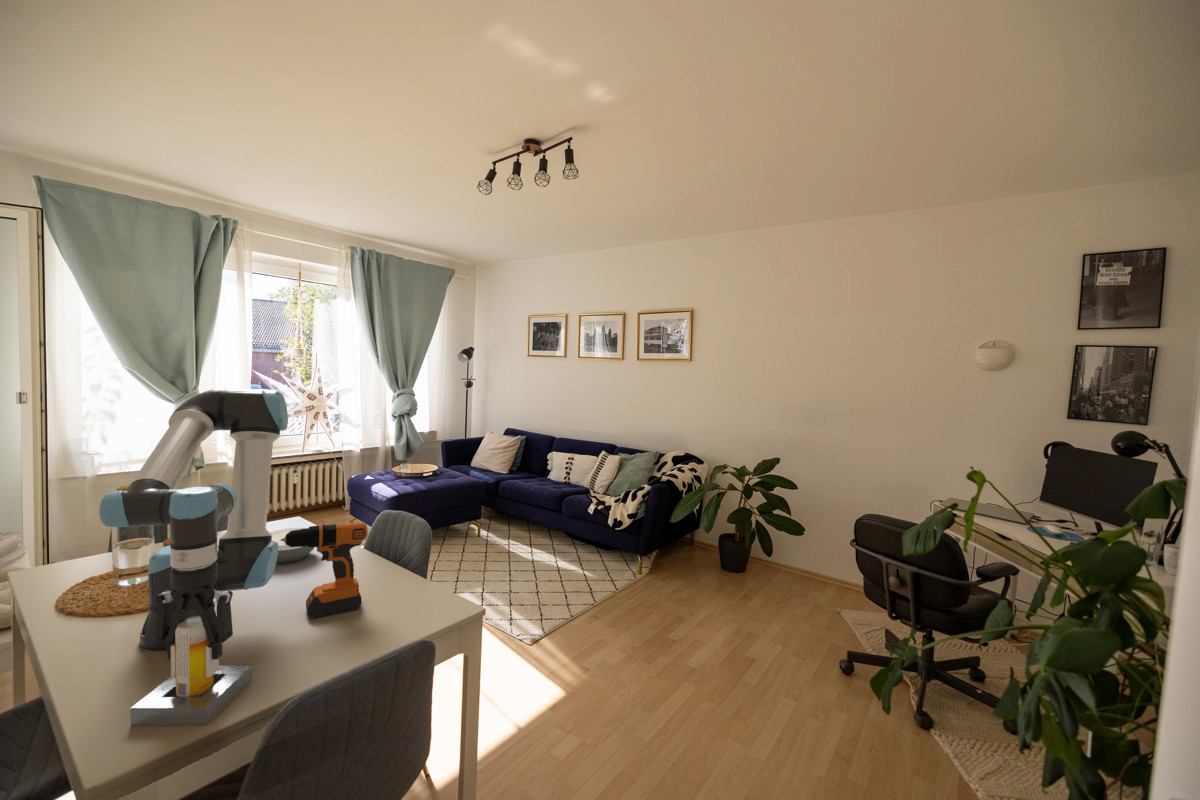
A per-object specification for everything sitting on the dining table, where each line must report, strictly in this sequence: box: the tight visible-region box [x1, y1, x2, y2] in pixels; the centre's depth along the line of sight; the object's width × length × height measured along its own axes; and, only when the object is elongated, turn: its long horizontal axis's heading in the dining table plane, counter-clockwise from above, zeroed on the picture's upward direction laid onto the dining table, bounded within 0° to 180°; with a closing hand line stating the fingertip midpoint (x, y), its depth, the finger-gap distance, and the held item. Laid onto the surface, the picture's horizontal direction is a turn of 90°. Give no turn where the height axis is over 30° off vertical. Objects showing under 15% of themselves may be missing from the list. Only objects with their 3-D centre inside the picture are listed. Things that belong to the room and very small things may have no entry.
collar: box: [130, 664, 253, 726], centre depth 105 cm, size 14×14×4 cm
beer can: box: [175, 616, 213, 697], centre depth 104 cm, size 6×6×15 cm
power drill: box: [281, 521, 368, 619], centre depth 143 cm, size 22×7×25 cm, turn 123°
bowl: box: [269, 527, 315, 564], centre depth 180 cm, size 19×19×8 cm
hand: (195, 673), depth 104 cm, fingers closed on beer can, 6 cm apart
